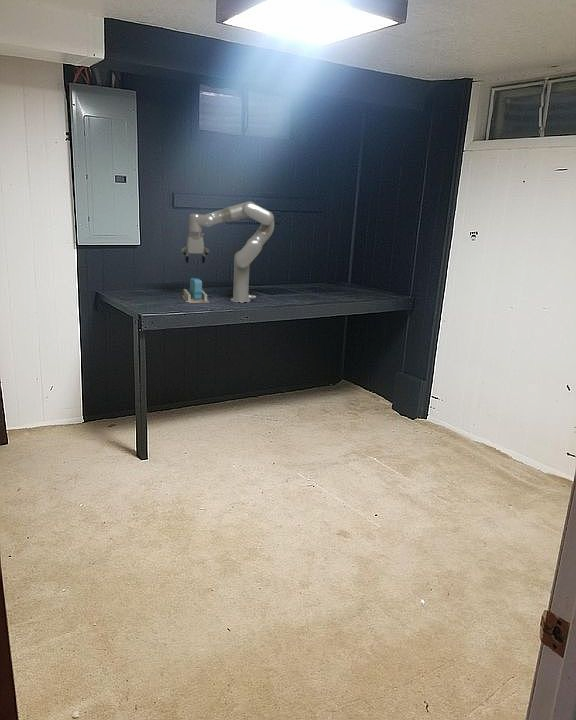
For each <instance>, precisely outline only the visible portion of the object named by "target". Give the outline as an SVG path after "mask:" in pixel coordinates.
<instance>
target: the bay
mask: <svg viewBox="0 0 576 720" xmlns="http://www.w3.org/2000/svg"><path fill="white" fill-rule="evenodd" d="M181 297H183V298H182V299H183V300H185V301H184V302H185V303H186V302H189V304H190V303H191V304H194V303H195V304H197V303H198V304H201V303H202V304H207V303H208V304H209V303H210V301H209V300H208V294H207V293H206V292H205V291H204V289H202V299H201V300H194V299H193V298H191V295H190V291H188V290H187V289H186V288H183V295H181Z"/></svg>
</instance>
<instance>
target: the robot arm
mask: <svg viewBox="0 0 576 720" xmlns="http://www.w3.org/2000/svg"><path fill="white" fill-rule="evenodd" d="M188 217H189V219H188V220H189V227H188V228H189V229H188V231H189V232H188V235H189V236H187V240H186V246H184V247H181V248H180V250H181V252H182V254H183V255H184V257H185V262H186V264H188V263H189V256H190V254H195V255H196V254H197V255H198V254H201V255H202V256H201V263H202V264H205V262H206V256H207V255H208V254H209V253H210V249H209V248H207V246H205V245H204V243H205V242H204V237H203V236H204V235H205V233H204V232H203V227H206V228H211V227H213V226H214V225H217V224H221V223H226V222H233V221H237V220H241V219H245V218H251V219H252V220H254V221H256V222H258V223H260V226H259V228H257V230H256V231H255V232H254V234H253V235H252V236H251V237H250V238H248V240H247V241H246V244H245V245H244V246H243V247H242V248H241V249H240V250H238V251H237V252H236V253H235V254H234V256H233V258H234V260H233V291H232V294H233V295H232V297H231V298H230V302H233V303H238V302H240V303H239V304H242V303H243V304H244V302H247V303H250V302H251V299H256V297H257V296H256V295H253V294H250V293H249V292H250V291H249V288H250V285H249V284H250V282H249V281H250V265H251V263H252V262H253V261H254V260H255V259H256V258H257V256H259V254H261V251H262V249H263V246H264V245H265V244H266V242H267V241H268V240H269V239H270V238H271V236H272V235H273V233H274V229H275V216H274V214H273V212H272V211H270V210H268V209H265V208H263V207H261V206H260V205H258V204H257V203H255V202H253V201H246V202H245V201H244V202H241V203H239V204H235V205H231V206H227V207H225V208H222V209H220V210H216V211H213V212H209V213H205V214H201V213H190V214H189V216H188ZM185 250H186V252H185ZM205 251H206V252H205Z"/></svg>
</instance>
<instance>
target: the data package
mask: <svg viewBox="0 0 576 720" xmlns="http://www.w3.org/2000/svg"><path fill="white" fill-rule="evenodd" d="M202 290H203V281H202V280H201V279H199V278H197V277H196V278H195V277H191V278H190V279H189V293H190V295H191V298H193V299H194V300H201V299H202Z"/></svg>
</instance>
